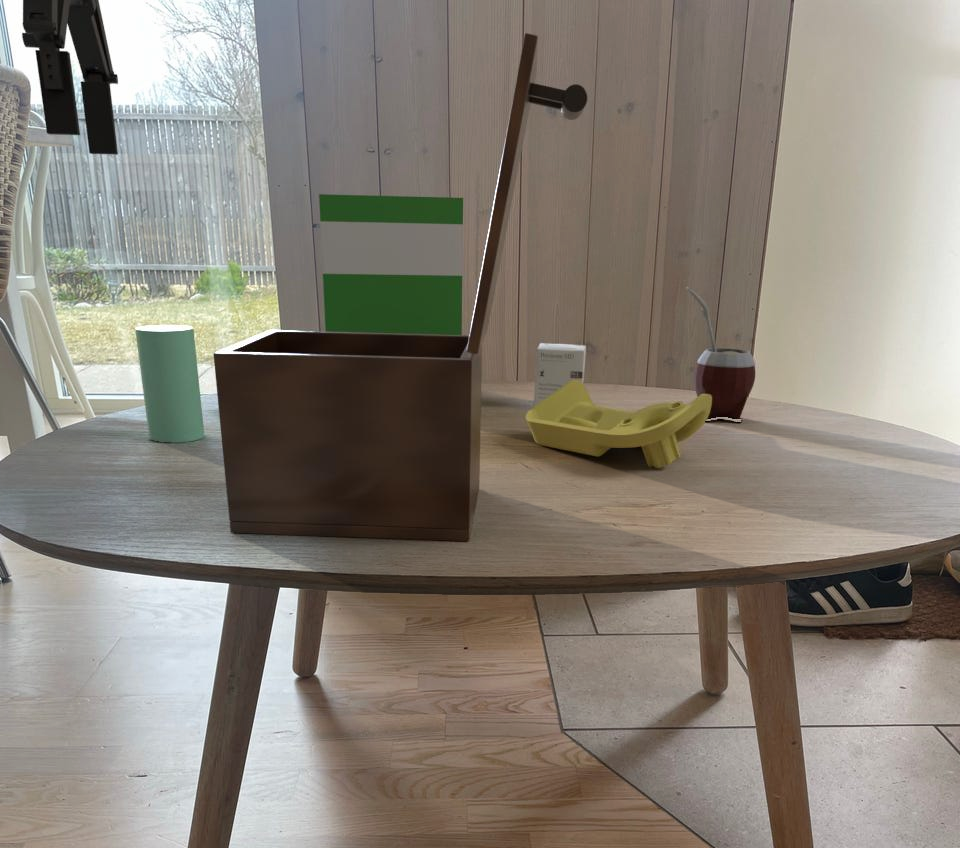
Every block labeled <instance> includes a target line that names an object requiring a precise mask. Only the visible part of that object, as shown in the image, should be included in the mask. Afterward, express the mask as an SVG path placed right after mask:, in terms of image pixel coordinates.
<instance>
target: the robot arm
mask: <svg viewBox="0 0 960 848" xmlns="http://www.w3.org/2000/svg"><path fill="white" fill-rule="evenodd" d="M22 27H23V30H24V32H21V36H22V37H21V38H22V42H23V45H24V47H25V48H33V49H35V48H36V49H35V50H34V51H35V58H36V66H37V73H38V81H39V86H40V95H41V102H42V108H43V115H44V122H45V123H44V124H45V129H46V134H47V135H53V136H54V135H55V136H56V135H58V136H81V132H80V122H79V116H78V115H79V114H78V108H77V107H78V106H77V100H76V92H75V84H74V76H73V68H72V60H71V53H70V52H69V51H68V50H64V49H65V47H66V39H67V29H68V31H69V33H70V38H71V41H72V44H73V47H74V51H75V54H76V58H77V61H78V64H79V68H80V71H81V74H82V79H83V81H80V89H81V97H82V104H83V112H84V121H85V129H86V135H87V144H88V153H89V154H90V155H112V156H113V155H115V156H116V155H117V156H119V152H118V151H119V150H118V143H117V134H116V126H115V117H114V108H113V99H112V90H111V85H118V84H119V78H118V77H119V76H118V74H117V73H115V70H114V69H113V68H114V67H113V64H112V58H111V54H110V48H109V44H108V39H107V34H106V30H105V24H104V20H103V14H102V10H101V4H100V0H22Z"/></svg>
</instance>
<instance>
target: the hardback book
mask: <svg viewBox="0 0 960 848" xmlns="http://www.w3.org/2000/svg"><path fill="white" fill-rule="evenodd" d="M318 201H319V202H318V203H319V222H320V242H321V245H320V246H321V264H322V265H321V266H322V284H323V285H322V287H323V307H324V308H323V309H324V326H325V327H324V328H325V330H324V331H326V332H363V333H401V334H438V335H463V263H464V262H463V260H464V259H463V258H464V257H463V255H464V253H463V252H464V251H463V250H464V249H463V247H464V197H450V196H449V197H448V196H447V197H446V196H445V197H444V196H443V197H442V196H409V195H408V196H406V195H405V196H404V195H403V196H401V195H363V194H326V193H325V194H324V193H323V194H321V193H319V194H318Z"/></svg>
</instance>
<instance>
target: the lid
mask: <svg viewBox="0 0 960 848" xmlns="http://www.w3.org/2000/svg"><path fill="white" fill-rule="evenodd" d="M538 41H539V36H538V35H537V34H532V33H528V32H525V33H524V36H523V42H522V47H521V52H520V59H519V63H518V69H517V74H516V80H515V84H514V91H513V97H512V102H511V107H510V113H509V118H508V124H507V127H506V134H505V140H504V145H503V151H502V155H501V162H500V167H499V171H498V172H499V173H498V178H497V184H496V188H495V194H494V200H493V205H492V209H491V210H492V211H491V216H490V220H489V226H488V233H487V237H486V242H485V243H486V244H485V249H484V255H483V260H482V265H481V271H480V275H479V282H478V287H477V292H476V298H475V304H474V310H473V315H472V319H471V325H470V331H469V341H468V346H467V352H469V353H474V354H478V352H479V350H480V347H481V345H482V346H483V342H484V340H485V337H486V335H487V333H488V329H489V323H490V319H491V314H492V310H493V309H492V307H493V302H494V298H495V294H496V293H495V291H496V287H497V283H498V277H499V272H500V266H501V261H502V255H503V250H504V245H505V240H506V236H507V235H506V234H507V230H508V225H509V220H510V214H511V210H512V209H511V208H512V204H513V203H512V202H513V197H514V193H515V187H516V183H517V177H518V173H519V172H518V171H519V167H520V161H521V156H522V151H523V147H524V140H525V135H526V130H527V124H528V120H529V115H530V110H531V105H537V106H540V107H546V108H550V109H555V110H558V111H559V110H560V112H561V114H562V116H563V118H565V119H566V120H569V121H574V120H577V119H578V118H580V117H581V116H582V114H583V112H584V110H585V108H586V106H587V103H588V93H587V92H588V91H587V90H586V88H585V87H583V86H582V85H580V84H577V83H576V84H575V83H574V84H571V85H569V86H568V87H566V89H561V88H557V87H553V86H548V85H545V84H544V85H543V84H539V83H535V82H536V77H537V71H538V70H537V69H538V67H537V66H538V48H539V47H538V45H539V44H538V43H539V42H538Z"/></svg>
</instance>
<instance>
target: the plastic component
mask: <svg viewBox="0 0 960 848" xmlns="http://www.w3.org/2000/svg"><path fill="white" fill-rule="evenodd" d="M711 405H712V396H711V395H710V394H701V395H699V396H698V397H697V396H696V398H694V399H693V400H692V401H691V402H689V403H688V404H686V403H684V401H682V400H679V401H674V402H667V401H666V402H659V403H654V404H653V403H652V404H650V405H647V406H645V407H642V408H640V409H638V410H636V411H634V410H628V409H620V408H613V407H607V406H606V407H605V406H597V405H595V404H594V401H593V400H592V398H591V396H590V394H589V392H588V390H587V388H586V387H585V385H584V382H583V383H582V382H580V381H578V380H570V381H569V382H568V383H566V384H565V385H563V386H562V387H561V388H559V389H558V390H556V391H555V392H554V393H552V394H551V395H549V396H548V397H547V398H545V399H544V400H543V401H541V402H540V403H538V404H537V405H536V406H534V405H533V407H531V408H530V409H529V410H528V411H527V412H526V415H525V420H526V423H527V425H528V427H529V430H530V432H531V436H532V437H533V440H534V442H535V443H536V444H537V445H540V446H543V447H548V448H553V449H558V450H563V451H568V452H572V453H577V454H583V455H587V456H592V457H601V456H602V455H604V454H605V453H607V452H608V451H609V450H610V449H612V448H615V449H616V448H617V449H622V448H623V449H626V448H627V449H628V448H638V447H641V450H642V453H643V455H644V459H645V462H646V464H647V466H648V467H649V468H651V467H654V468H655V469H660V468H661V467H663V466H666V465H667V466H670V465H672V463H673V462H674V461H675V460H677V459H680V457H681V453H680V452H681V449H680V446H679V442H682V441H685V440H687V439H689V438H690V437H691V436H693V435H694V434H695V433H697V432H698V431H699V430H700V429H701V428H702V427H703V426H704V424H705V423H706V422H705V421H706V420H707V418H708V416H709V414H710V410H711Z"/></svg>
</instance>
